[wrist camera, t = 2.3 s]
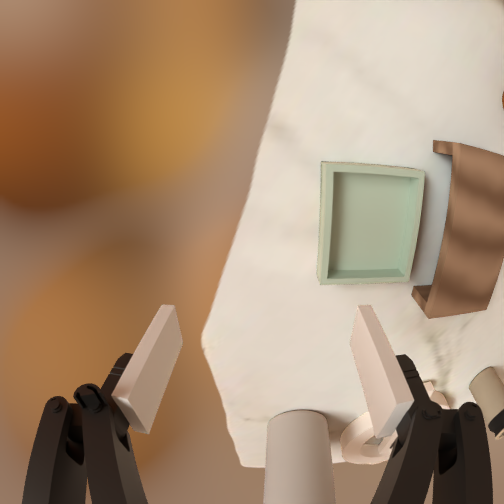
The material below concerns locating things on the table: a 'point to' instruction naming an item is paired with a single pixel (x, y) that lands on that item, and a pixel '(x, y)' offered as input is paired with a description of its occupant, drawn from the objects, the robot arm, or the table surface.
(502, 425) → the travel mug
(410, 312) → the table surface
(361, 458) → the ring with crossbar
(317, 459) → the cylinder vase
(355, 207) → the green tray
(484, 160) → the walnut overhang
